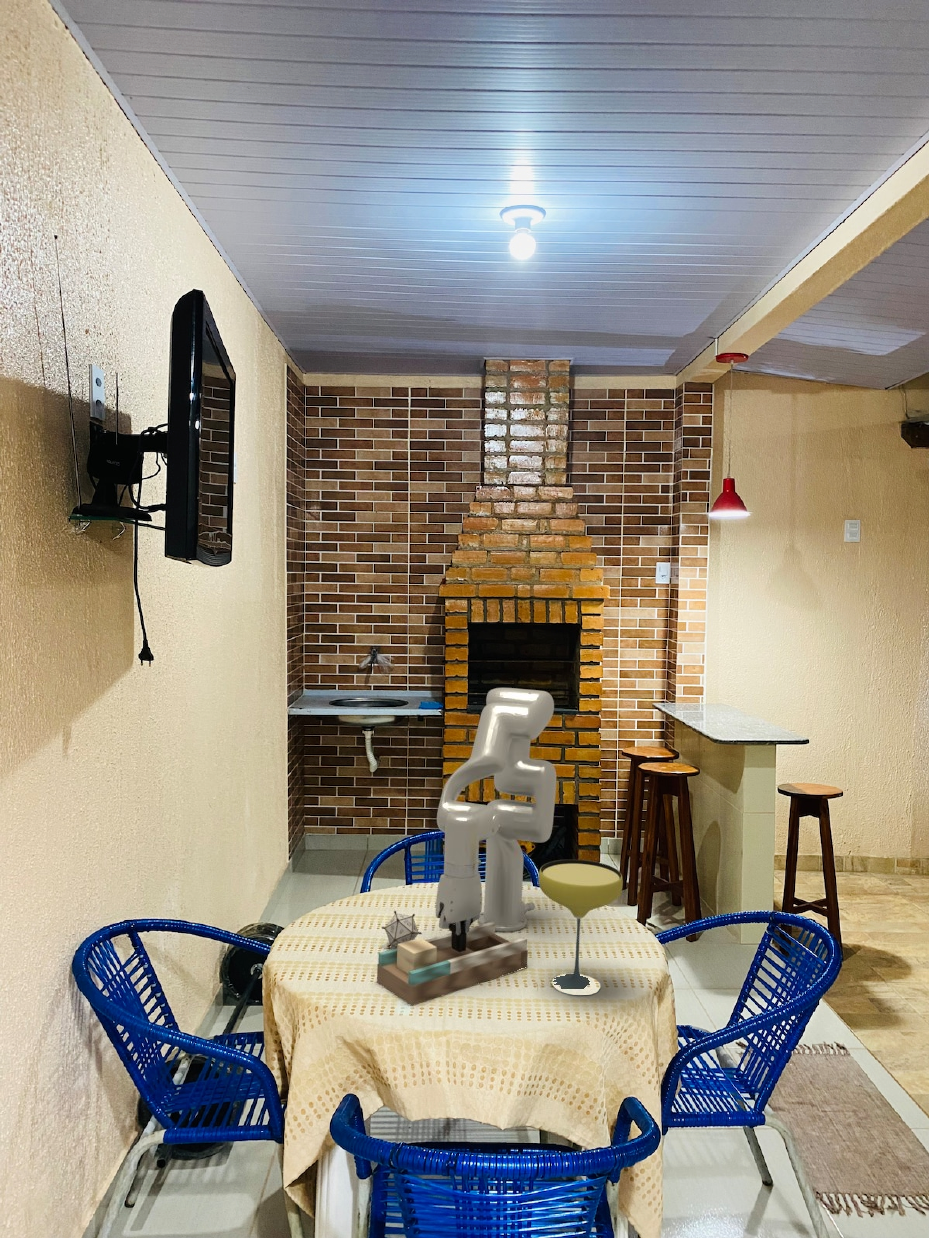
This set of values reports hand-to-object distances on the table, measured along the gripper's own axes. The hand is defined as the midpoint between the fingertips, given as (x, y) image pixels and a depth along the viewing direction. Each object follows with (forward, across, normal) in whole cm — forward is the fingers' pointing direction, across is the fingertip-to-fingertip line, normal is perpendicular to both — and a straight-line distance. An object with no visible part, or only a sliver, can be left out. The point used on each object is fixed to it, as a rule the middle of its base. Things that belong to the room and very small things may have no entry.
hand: (458, 949), depth 203 cm
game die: (+6, +2, -19) cm, 20 cm away
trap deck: (+5, +1, 0) cm, 6 cm away
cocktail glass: (+6, -18, +19) cm, 27 cm away
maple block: (+1, +12, 0) cm, 12 cm away
